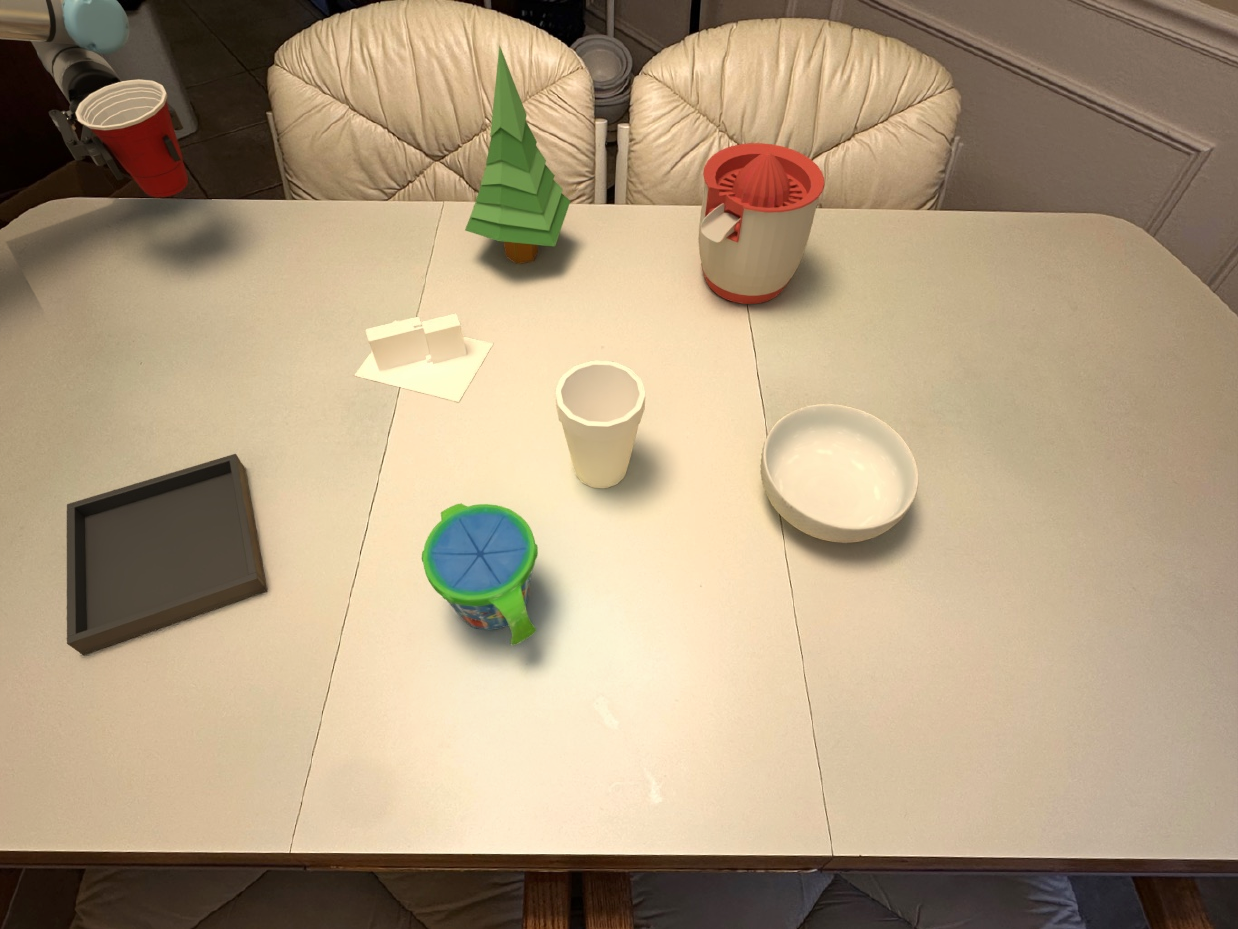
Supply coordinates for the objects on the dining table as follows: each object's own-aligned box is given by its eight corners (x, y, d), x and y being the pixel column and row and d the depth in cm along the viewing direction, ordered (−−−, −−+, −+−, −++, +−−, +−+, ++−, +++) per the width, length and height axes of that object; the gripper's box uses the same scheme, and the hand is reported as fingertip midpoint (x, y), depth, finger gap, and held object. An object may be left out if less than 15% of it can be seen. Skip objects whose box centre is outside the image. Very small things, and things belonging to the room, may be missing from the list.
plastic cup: (109, 183, 102) (58, 96, 92) (186, 155, 107) (145, 70, 97) (140, 219, 97) (90, 131, 88) (220, 188, 102) (180, 101, 92)
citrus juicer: (660, 281, 109) (670, 154, 93) (740, 234, 116) (762, 108, 100) (740, 337, 102) (765, 209, 86) (819, 283, 109) (856, 156, 93)
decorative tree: (582, 273, 110) (576, 64, 86) (477, 290, 107) (440, 79, 83) (562, 220, 118) (552, 14, 94) (463, 234, 115) (426, 27, 91)
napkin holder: (353, 376, 96) (340, 344, 92) (393, 320, 103) (383, 287, 98) (459, 402, 94) (452, 370, 89) (494, 342, 101) (488, 310, 96)
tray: (80, 517, 83) (66, 503, 81) (245, 467, 87) (235, 453, 85) (82, 655, 73) (66, 643, 71) (267, 591, 78) (257, 578, 75)
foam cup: (556, 441, 90) (550, 365, 80) (631, 431, 92) (634, 355, 81) (567, 505, 85) (562, 432, 74) (647, 493, 86) (652, 420, 76)
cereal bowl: (728, 463, 89) (736, 425, 83) (848, 426, 93) (864, 387, 87) (798, 581, 79) (813, 548, 74) (928, 535, 83) (952, 499, 77)
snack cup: (420, 560, 80) (399, 508, 72) (510, 523, 83) (500, 469, 75) (470, 686, 72) (453, 643, 64) (569, 640, 75) (565, 593, 67)
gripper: (175, 94, 112) (232, 162, 101) (34, 135, 104) (79, 213, 93) (150, 41, 106) (208, 108, 95) (0, 80, 98) (43, 157, 87)
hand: (144, 160), depth 94 cm, fingers closed on plastic cup, 6 cm apart
